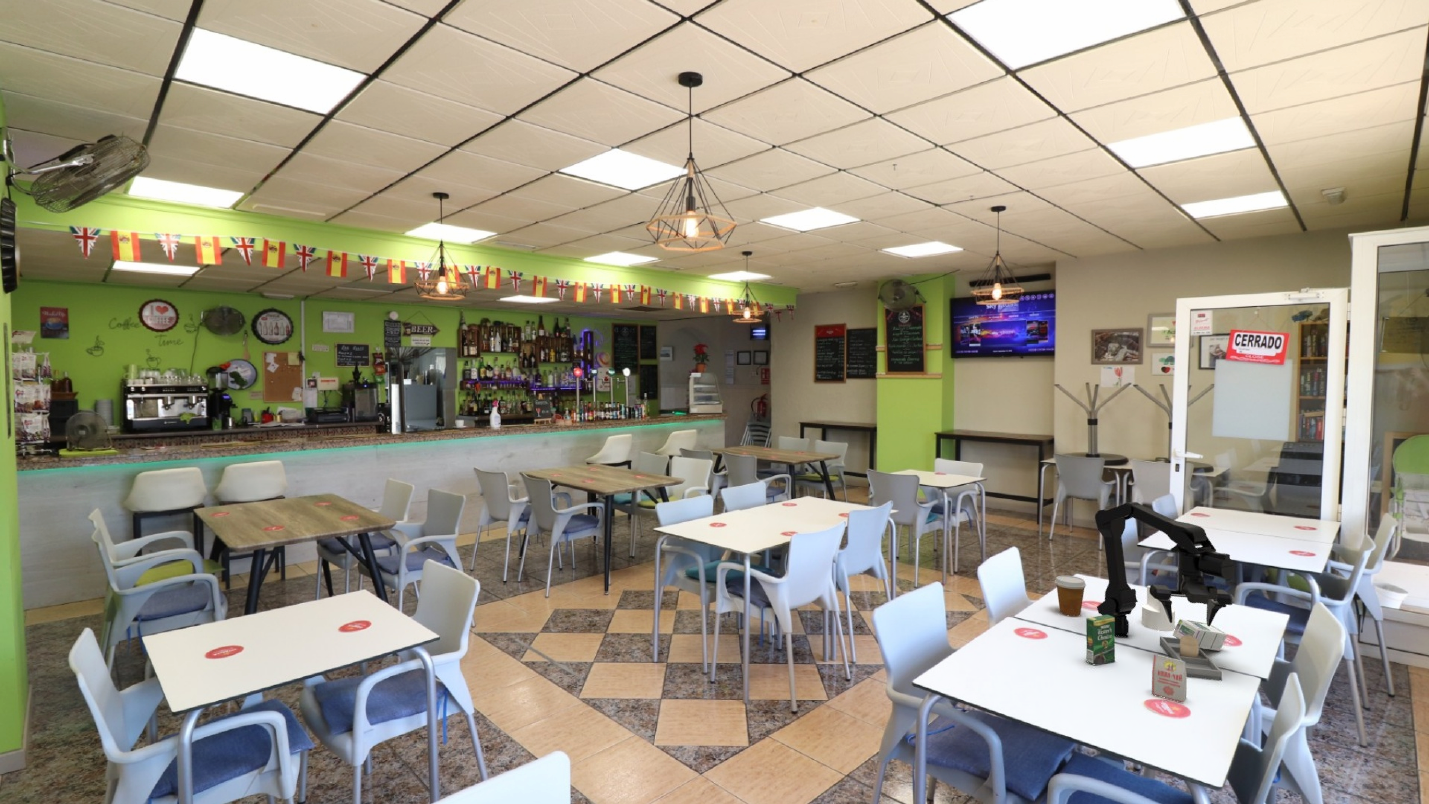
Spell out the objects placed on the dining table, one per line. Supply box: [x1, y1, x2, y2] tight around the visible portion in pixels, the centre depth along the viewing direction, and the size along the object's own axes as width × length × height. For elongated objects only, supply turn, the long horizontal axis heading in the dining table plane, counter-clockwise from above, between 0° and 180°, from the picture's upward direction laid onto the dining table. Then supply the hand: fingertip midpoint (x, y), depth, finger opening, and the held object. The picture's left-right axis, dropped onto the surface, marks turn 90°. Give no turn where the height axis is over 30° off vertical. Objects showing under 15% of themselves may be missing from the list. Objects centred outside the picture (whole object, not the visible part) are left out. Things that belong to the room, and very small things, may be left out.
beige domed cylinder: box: [1180, 635, 1199, 658], centre depth 193 cm, size 4×4×7 cm
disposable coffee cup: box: [1054, 575, 1087, 617], centre depth 233 cm, size 10×10×12 cm
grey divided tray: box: [1159, 635, 1223, 681], centre depth 193 cm, size 8×23×2 cm, turn 161°
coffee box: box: [1085, 614, 1116, 665], centre depth 193 cm, size 8×3×13 cm, turn 107°
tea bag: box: [1151, 653, 1188, 703], centre depth 172 cm, size 4×7×10 cm, turn 45°
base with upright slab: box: [1141, 585, 1176, 632], centre depth 221 cm, size 9×9×12 cm
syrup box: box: [1172, 618, 1228, 652], centre depth 200 cm, size 6×6×14 cm
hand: (1189, 624), depth 193 cm, fingers open, 9 cm apart
